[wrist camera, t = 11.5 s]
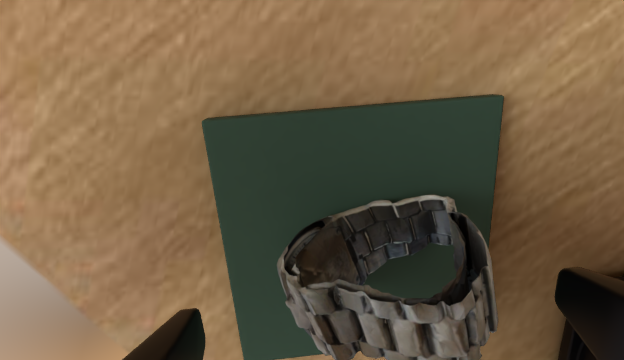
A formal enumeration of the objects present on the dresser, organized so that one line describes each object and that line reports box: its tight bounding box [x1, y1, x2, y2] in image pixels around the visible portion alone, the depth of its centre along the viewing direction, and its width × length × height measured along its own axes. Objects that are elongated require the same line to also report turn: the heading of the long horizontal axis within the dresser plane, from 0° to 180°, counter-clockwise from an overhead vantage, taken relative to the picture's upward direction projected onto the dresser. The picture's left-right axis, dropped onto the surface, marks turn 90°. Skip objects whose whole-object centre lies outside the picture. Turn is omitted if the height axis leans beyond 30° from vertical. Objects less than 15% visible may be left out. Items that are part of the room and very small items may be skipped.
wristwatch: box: [277, 195, 498, 360], centre depth 9 cm, size 3×5×5 cm
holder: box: [202, 94, 504, 360], centre depth 11 cm, size 9×9×1 cm
